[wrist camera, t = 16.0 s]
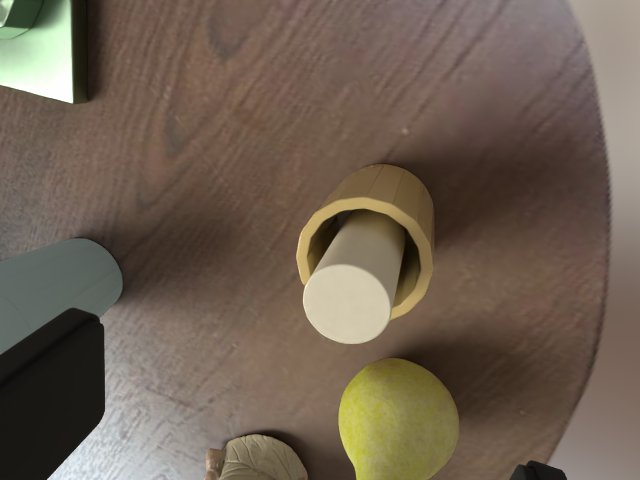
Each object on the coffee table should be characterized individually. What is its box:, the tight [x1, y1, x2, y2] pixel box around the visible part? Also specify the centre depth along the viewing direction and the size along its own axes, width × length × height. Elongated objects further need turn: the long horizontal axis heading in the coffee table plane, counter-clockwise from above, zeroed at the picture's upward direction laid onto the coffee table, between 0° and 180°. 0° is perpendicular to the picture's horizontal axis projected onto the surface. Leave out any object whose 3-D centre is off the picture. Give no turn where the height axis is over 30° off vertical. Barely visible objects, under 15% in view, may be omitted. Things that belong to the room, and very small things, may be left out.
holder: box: [296, 164, 435, 321], centre depth 22 cm, size 6×6×7 cm
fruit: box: [339, 358, 459, 480], centre depth 24 cm, size 7×8×12 cm
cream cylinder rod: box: [303, 208, 408, 344], centre depth 20 cm, size 3×3×10 cm
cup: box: [0, 238, 123, 354], centre depth 28 cm, size 8×8×10 cm
